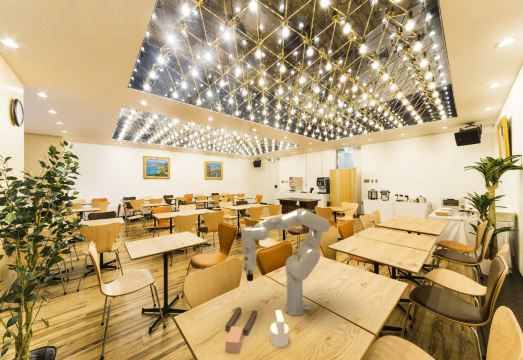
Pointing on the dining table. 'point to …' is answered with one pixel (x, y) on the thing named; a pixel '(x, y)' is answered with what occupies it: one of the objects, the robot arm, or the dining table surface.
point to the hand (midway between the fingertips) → (250, 280)
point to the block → (234, 339)
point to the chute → (247, 325)
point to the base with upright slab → (279, 331)
